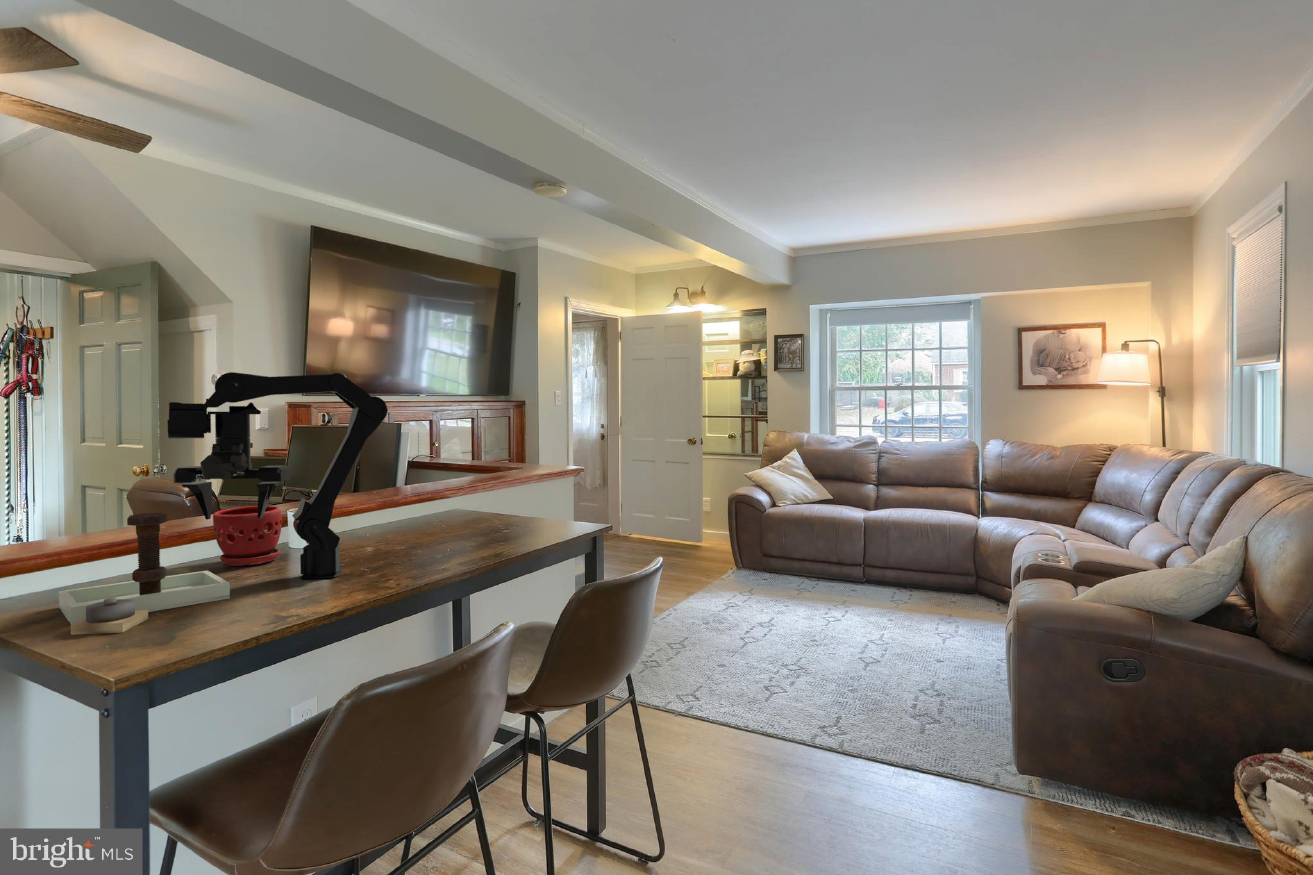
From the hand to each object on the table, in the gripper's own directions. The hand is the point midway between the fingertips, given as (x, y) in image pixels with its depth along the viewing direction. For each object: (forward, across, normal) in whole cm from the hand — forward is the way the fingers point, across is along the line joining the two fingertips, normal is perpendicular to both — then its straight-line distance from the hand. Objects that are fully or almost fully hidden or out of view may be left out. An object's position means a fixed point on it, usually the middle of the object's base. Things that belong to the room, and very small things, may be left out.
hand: (234, 518), depth 134 cm
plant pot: (+13, -6, +22) cm, 26 cm away
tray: (+13, -10, -11) cm, 20 cm away
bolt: (+13, -9, -11) cm, 19 cm away
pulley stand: (+13, -8, -25) cm, 29 cm away
